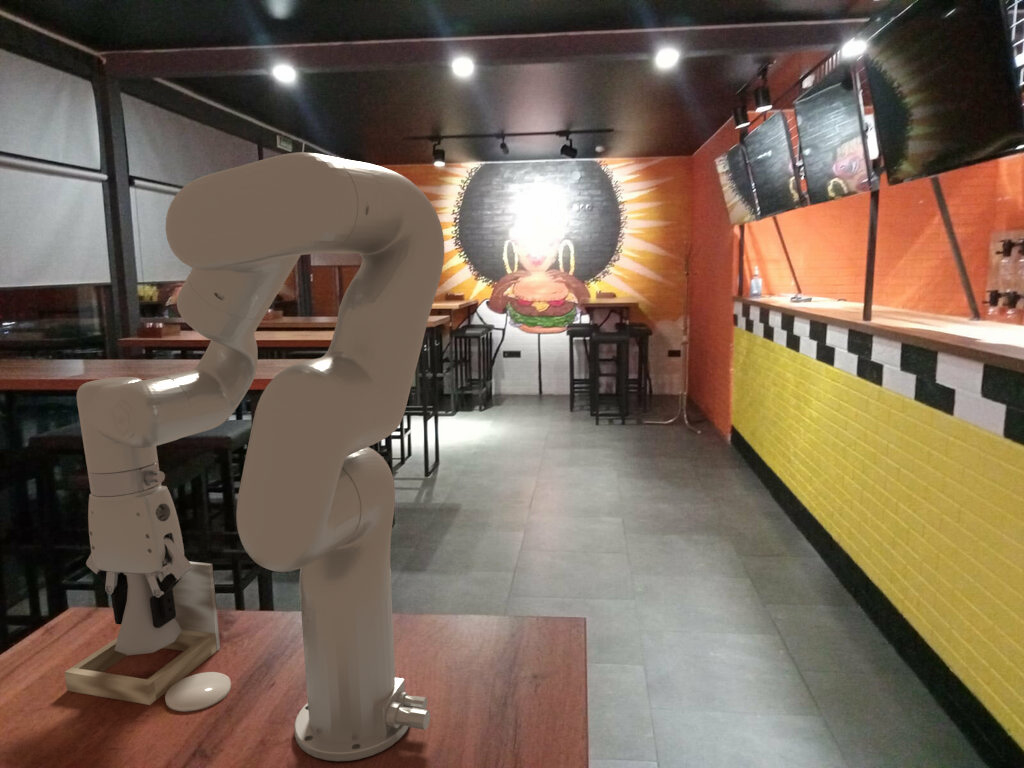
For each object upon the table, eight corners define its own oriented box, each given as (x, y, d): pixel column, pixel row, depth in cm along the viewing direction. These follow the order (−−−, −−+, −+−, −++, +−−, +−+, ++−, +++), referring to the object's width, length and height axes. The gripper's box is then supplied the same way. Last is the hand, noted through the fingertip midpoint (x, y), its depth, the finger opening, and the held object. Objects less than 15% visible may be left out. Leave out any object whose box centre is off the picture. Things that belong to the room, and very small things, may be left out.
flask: (154, 659, 86) (143, 580, 84) (102, 655, 87) (90, 578, 85) (193, 629, 93) (183, 555, 91) (144, 626, 94) (133, 554, 92)
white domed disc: (243, 680, 88) (243, 676, 88) (204, 715, 82) (204, 711, 81) (193, 672, 90) (193, 668, 90) (151, 706, 83) (151, 702, 83)
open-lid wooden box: (220, 648, 96) (212, 563, 94) (149, 704, 84) (139, 609, 82) (145, 637, 99) (135, 555, 97) (67, 690, 87) (54, 598, 85)
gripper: (206, 472, 88) (224, 611, 91) (93, 470, 92) (114, 602, 95) (162, 491, 81) (182, 641, 84) (42, 487, 85) (66, 630, 88)
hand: (146, 619), depth 89 cm, fingers closed on flask, 5 cm apart
